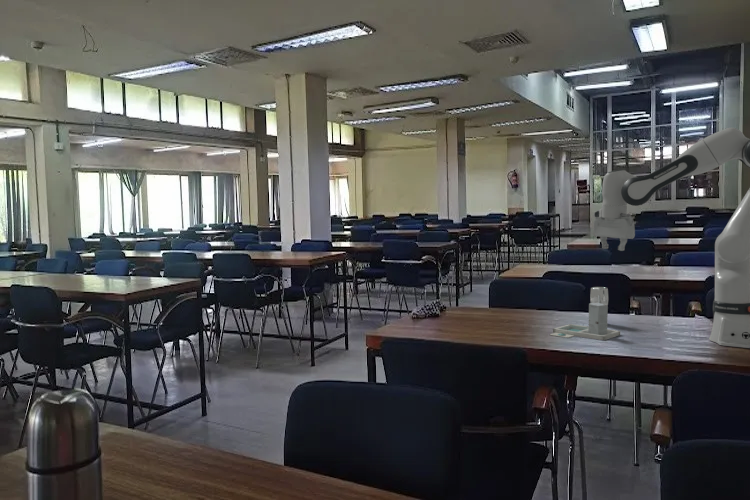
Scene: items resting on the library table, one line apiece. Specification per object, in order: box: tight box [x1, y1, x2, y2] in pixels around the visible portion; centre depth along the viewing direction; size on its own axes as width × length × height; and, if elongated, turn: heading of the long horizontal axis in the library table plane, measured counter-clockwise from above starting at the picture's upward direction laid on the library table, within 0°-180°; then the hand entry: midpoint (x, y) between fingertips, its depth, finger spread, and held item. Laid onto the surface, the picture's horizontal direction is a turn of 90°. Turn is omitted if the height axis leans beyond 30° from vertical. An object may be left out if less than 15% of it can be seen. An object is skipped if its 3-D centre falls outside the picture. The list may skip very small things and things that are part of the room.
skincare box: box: [588, 302, 609, 335], centre depth 224 cm, size 6×4×12 cm
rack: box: [549, 323, 621, 341], centre depth 227 cm, size 21×17×2 cm
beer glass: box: [589, 286, 609, 305], centre depth 246 cm, size 7×7×15 cm
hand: (613, 249), depth 225 cm, fingers open, 8 cm apart
